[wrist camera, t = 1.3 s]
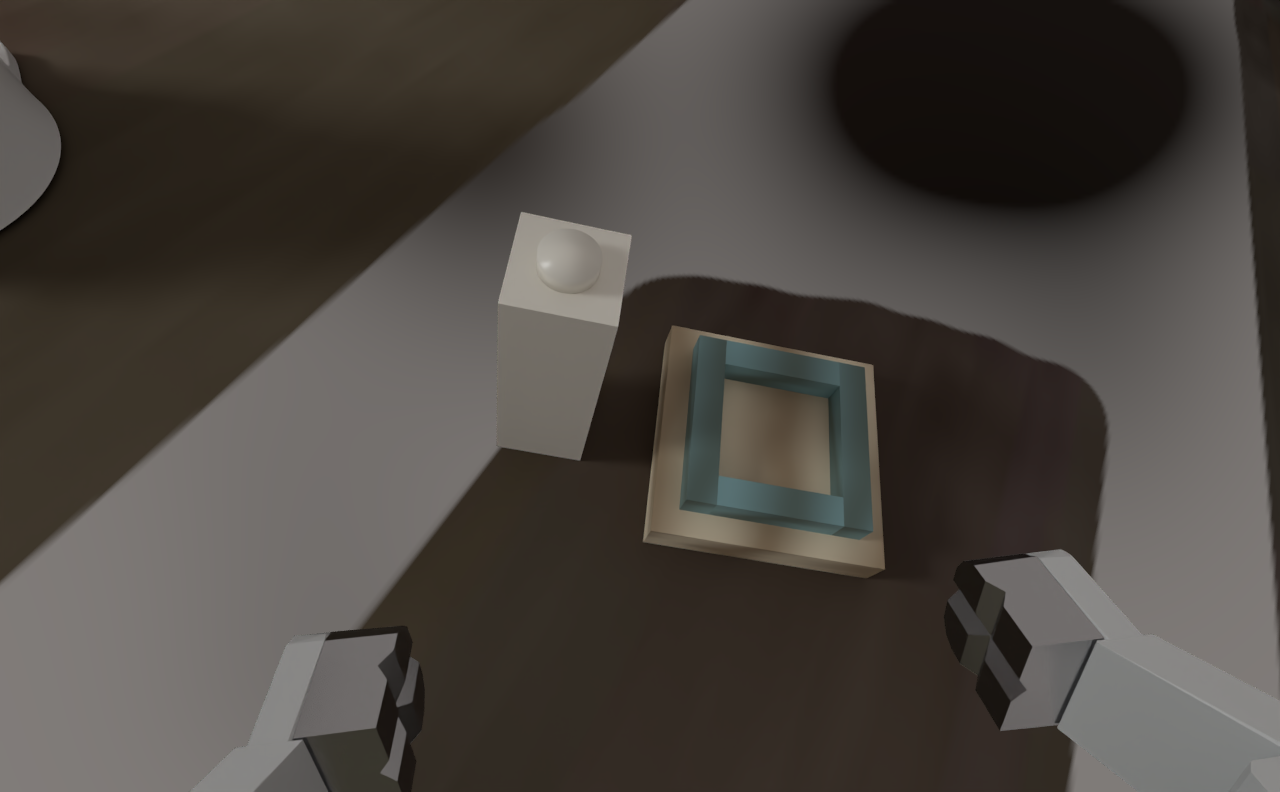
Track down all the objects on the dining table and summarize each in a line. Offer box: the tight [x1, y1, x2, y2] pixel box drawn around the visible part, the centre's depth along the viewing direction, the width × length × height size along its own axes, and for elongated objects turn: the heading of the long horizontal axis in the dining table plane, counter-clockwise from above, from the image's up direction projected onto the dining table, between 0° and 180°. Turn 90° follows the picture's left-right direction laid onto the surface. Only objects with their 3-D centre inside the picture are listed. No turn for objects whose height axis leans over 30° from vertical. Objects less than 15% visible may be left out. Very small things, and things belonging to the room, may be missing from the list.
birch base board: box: [643, 325, 885, 578], centre depth 38 cm, size 12×12×4 cm
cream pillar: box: [497, 212, 632, 461], centre depth 32 cm, size 4×4×14 cm
